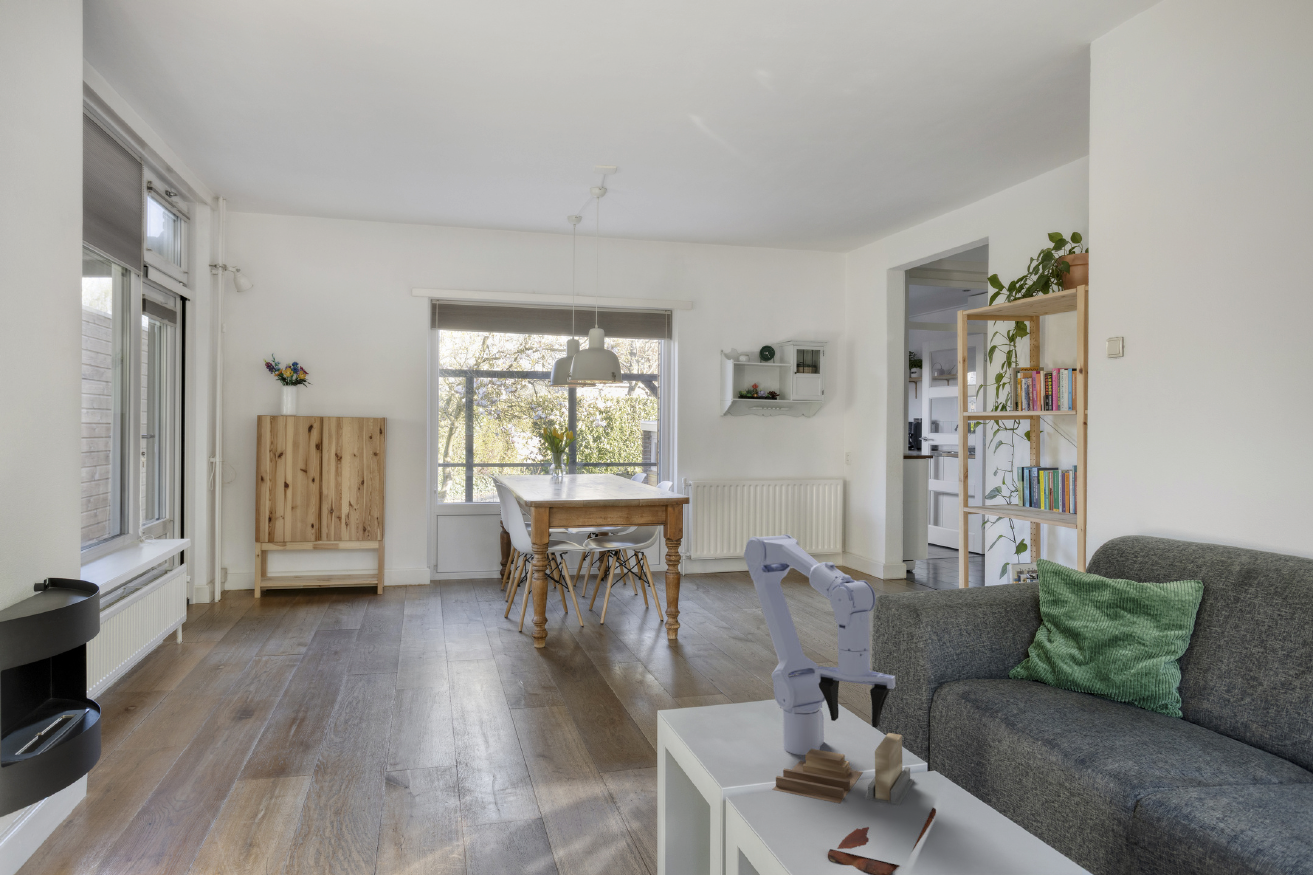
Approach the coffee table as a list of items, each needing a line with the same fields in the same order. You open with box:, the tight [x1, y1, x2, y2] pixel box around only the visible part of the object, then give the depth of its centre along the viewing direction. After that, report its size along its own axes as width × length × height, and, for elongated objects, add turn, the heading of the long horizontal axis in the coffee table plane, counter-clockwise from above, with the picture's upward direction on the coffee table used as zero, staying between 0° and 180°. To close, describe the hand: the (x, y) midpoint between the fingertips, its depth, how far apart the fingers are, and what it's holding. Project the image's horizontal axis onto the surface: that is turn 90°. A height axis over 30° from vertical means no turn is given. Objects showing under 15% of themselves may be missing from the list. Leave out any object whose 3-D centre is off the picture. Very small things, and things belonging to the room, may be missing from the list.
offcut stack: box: [803, 749, 852, 779], centre depth 148 cm, size 4×8×3 cm, turn 61°
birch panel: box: [874, 732, 903, 801], centre depth 141 cm, size 2×10×8 cm, turn 151°
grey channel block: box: [863, 766, 915, 806], centre depth 141 cm, size 12×6×3 cm, turn 151°
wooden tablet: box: [827, 807, 937, 875], centre depth 126 cm, size 27×10×2 cm, turn 144°
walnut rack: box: [772, 760, 863, 804], centre depth 144 cm, size 15×12×2 cm
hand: (855, 722), depth 147 cm, fingers open, 7 cm apart
